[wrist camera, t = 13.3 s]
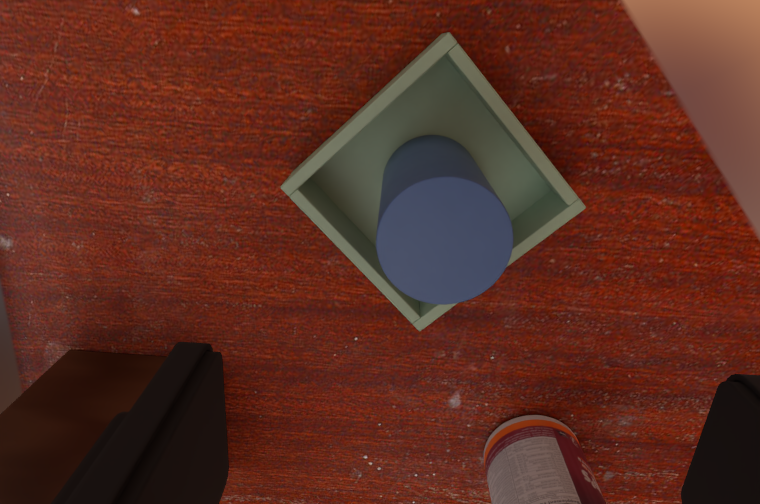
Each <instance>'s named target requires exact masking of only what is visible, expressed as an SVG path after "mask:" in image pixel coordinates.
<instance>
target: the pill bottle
mask: <svg viewBox="0 0 760 504" xmlns="http://www.w3.org/2000/svg"><path fill="white" fill-rule="evenodd" d="M484 466H485V471H486V476H487V481H488V486H489V491H490V496H491V501H492V504H606V502H605V500H604V498H603V496H602V493H601V491H600V489H599V486H598V484H597V482H596V479H595V477H594V475H593V473H592V471H591V468H590V466H589V463H588V462H587V459H586V457H585V455H584V452H583V450H582V448H581V446H580V444H579V442H578V439H577V438H576V436H575V434H574V433H573V432H572V430H571V429H570V428H569V427H568V426H567V425H565V424H564V423H562V422H560V421H558V420H556V419H554V418H551V417H548V416H543V415H526V416H521V417H517V418H513V419H511V420H509V421H507V422H505V423H503V424H502V425H500V426H499V427H498V428H497V429H495V431H494V432H493V433H492V434H491V435H490V437H489V438H488V440H487V443H486V445H485V448H484Z"/></svg>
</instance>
